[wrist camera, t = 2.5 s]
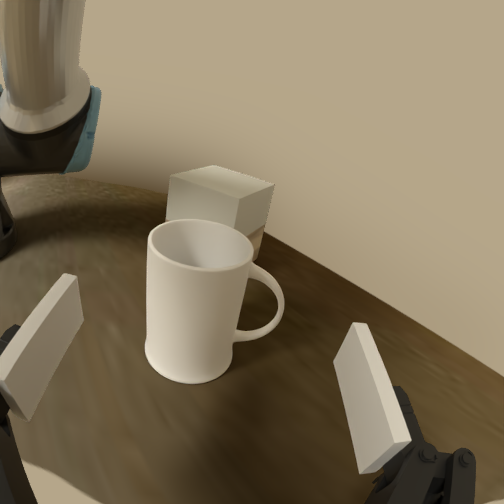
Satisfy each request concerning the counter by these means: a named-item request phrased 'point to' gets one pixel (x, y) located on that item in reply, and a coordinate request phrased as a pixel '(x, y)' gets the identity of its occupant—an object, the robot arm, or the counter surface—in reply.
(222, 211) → the tower top
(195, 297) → the mug
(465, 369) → the counter surface
